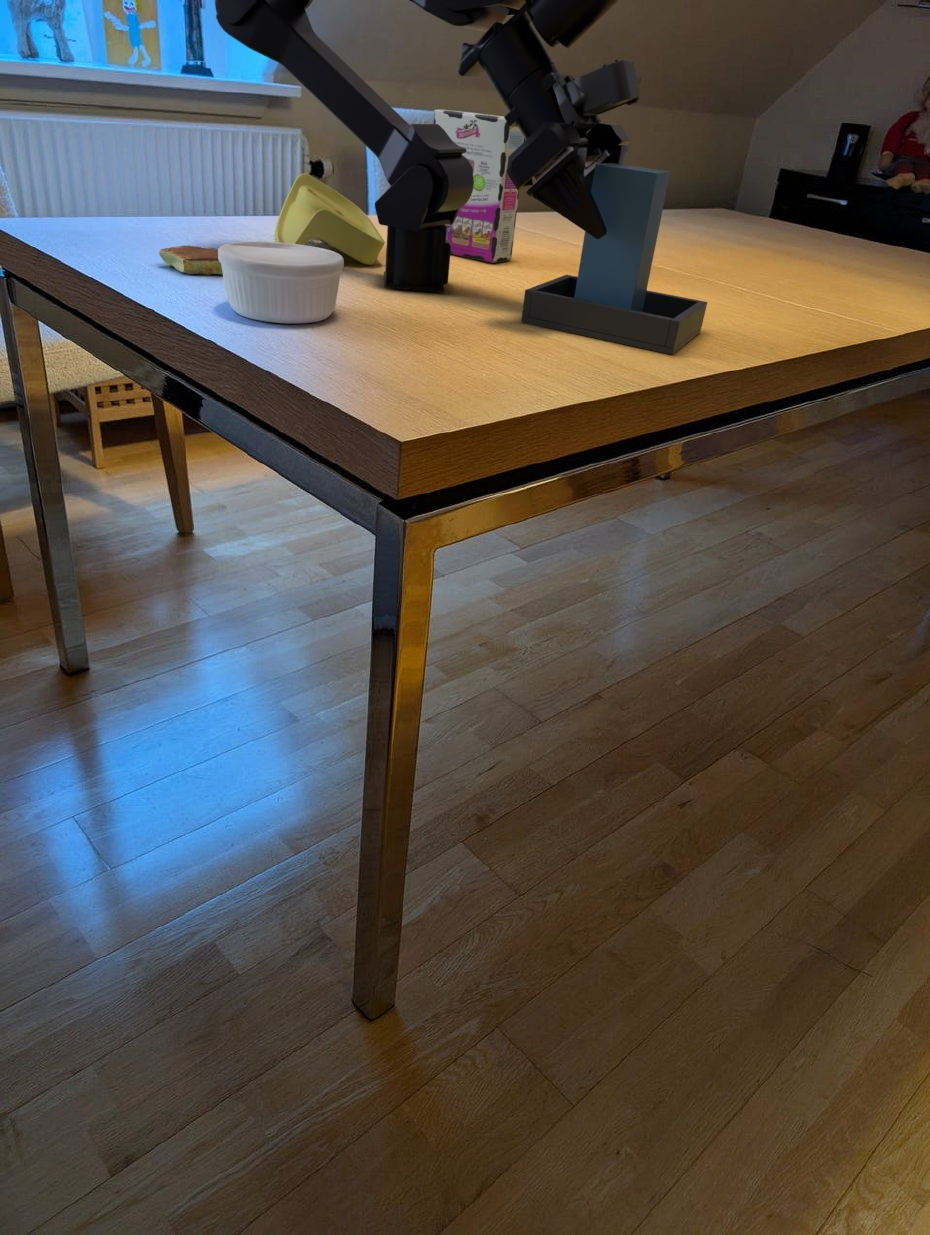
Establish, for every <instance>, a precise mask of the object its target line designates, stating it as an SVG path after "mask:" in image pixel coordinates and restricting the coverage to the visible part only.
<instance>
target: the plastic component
mask: <svg viewBox="0 0 930 1235" xmlns="http://www.w3.org/2000/svg"><path fill="white" fill-rule="evenodd" d="M314 239H317V240H318V241H319V242H323V243H325V244H326V245H328V246H331V247H333V248H335V249H337V250H339V251H340V252H342V253H344V254H346V255H347V256H349V257H350V258H352V259H354V260H356V261H357V262H360V263H362V264H364V265H366V266H371V265H374V264H375V262H376V260H377V258H378V257H379V255H380V253H381V251H382V249H383V247H384V246H385V244H386V241H385V240H384V238H383V236H382V235H381V233H380V232H379V231H378V229H377V228H376V226H375V224H374V223H373V222H372V220H371V218H370V217H369V216H368V215H367V213H365V211H363V209H361V208H360V207H359V206H358V205H356V204H355V203H354V202H352V201H351V200H350V199H348V198H347V197H346V196H344V195H342V194H341V193H339V192H338V191H336V190H335V189H334V188H331V187H330V186H328V185H327V184H326V183H324V182H322V181H320V180H319V179H317V178H315V177H314V176H312V175H310V173H309V174H308V173H300V174H298V175H297V176H296V178H295V180H294V181H293V184H292V186H291V188H290V189H289V192H288V194H287V196H286V197H285V200H284V203H283V204H282V208H281V210H280V213H279V215H278V218H277V221H276V225H275V229H274V242H279V243H290V244H299V245H306V246H307V244H308V242H309V241H311V240H314Z"/></svg>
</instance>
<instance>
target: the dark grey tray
mask: <svg viewBox="0 0 930 1235" xmlns="http://www.w3.org/2000/svg"><path fill="white" fill-rule="evenodd" d="M577 278H578V276H577V275H571V274H564V275H562V276H558V277H556V278H554V279H550V280H548V281H546V282H542V283H539V284H538V285H537V284H536V285H535V286H532V287H529V288H527V289H525V290H524V294H523V295H524V296H523V302H522V303H523V304H522V310H521V319H520V322H521V323H524V324H529V325H532V326H537V327H543V328H547V329H552V330H555V331H561V332H565V333H570V334H574V335H579V336H584V337H588V338H593V339H598V340H601V341H606V342H611V343H615V344H621V345H625V346H630V347H634V348H639V349H644V350H648V351H652V352H656V353H661V354H666V355H669V356H672V355H674V354H675V353H676V352H678V351H680V349H682V348H683V347H684V346H685V345H687V343H690V341H692V340H693V339H694V338H695V337H697V336H698V335H699V334H700V333H701V331H702V327H703V323H704V320H705V315H706V311H707V307H708V306H707V305H708V302H707V301H704V300H700V299H693V298H689V297H684V296H678V295H674V294H668V293H663V292H658V291H652V290H648V289H647V291H646V296H645V301H644V306H643V311H642V312H639V311H634V310H629V309H624V308H620V307H615V306H610V305H605V304H600V303H595V302H590V301H585V300H580V299H575V298H574V297H575V291H576V285H577Z"/></svg>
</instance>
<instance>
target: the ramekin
mask: <svg viewBox="0 0 930 1235" xmlns="http://www.w3.org/2000/svg"><path fill="white" fill-rule="evenodd" d="M217 249H218V259H219V261H220V263H221V266H222V272H223V275H222V277H223V282H224V287H225V288H224V289H225V294H226V296H227V297H226V298H227V301H228V305H229V306H230V307H231V308H232V310H233V311H234V312H235V313H236V314H238V315H240V316H242V317H244V318H248V319H251V320H255V321H261V322H268V323H276V324H308V323H309V324H310V323H317V322H320V321H324V320H326V319H327V318H329V317H330V316H331V314H332V313H333V312H334V311H335V308H336V306H337V299H338V298H337V297H338V293H339V286H340V279H341V273H342V271H343V270H344V268H345V261H344V257H343V255H341V254H340V253H338V252H336V251H333V250H330V249H326V248H324V247H323V248H322V247H317V246H311V245H307V244H306V245H299V244H290V243H279V242H276V241H252V240H251V241H236V242H229V243H225V244H223V245H220V246H219V247H218V248H217Z"/></svg>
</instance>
